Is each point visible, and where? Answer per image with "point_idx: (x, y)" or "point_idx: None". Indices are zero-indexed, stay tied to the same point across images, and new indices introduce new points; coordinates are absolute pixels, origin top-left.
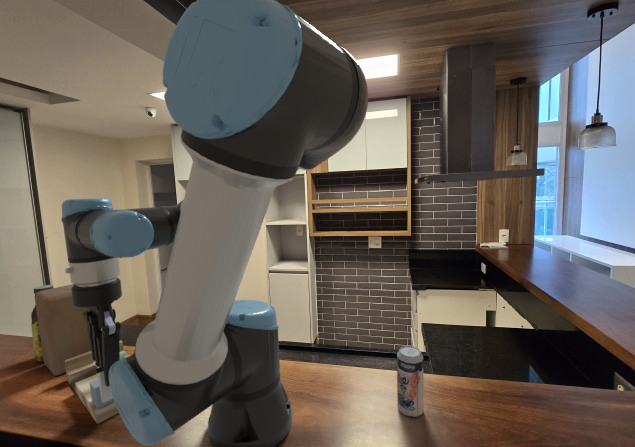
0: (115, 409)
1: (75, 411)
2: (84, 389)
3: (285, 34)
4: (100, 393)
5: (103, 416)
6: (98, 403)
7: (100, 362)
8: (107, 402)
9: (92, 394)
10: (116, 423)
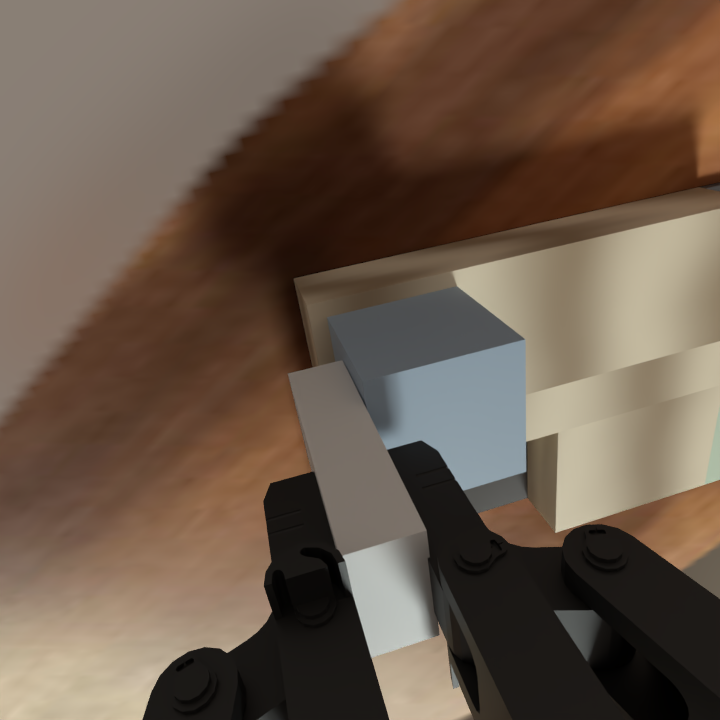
0: None
1: (519, 176)
2: (628, 249)
3: None
4: (343, 389)
5: (304, 319)
6: (336, 338)
7: (326, 686)
8: None
9: (445, 318)
10: (224, 363)
